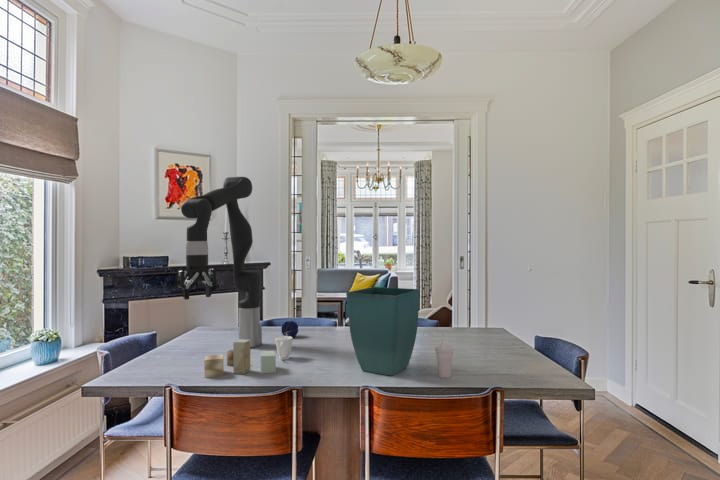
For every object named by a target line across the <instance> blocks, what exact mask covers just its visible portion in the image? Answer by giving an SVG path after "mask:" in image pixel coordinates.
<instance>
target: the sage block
mask: <svg viewBox="0 0 720 480" xmlns="http://www.w3.org/2000/svg"><path fill="white" fill-rule="evenodd" d="M259 354H260V355H259V359H260V360H259V363H260V374H267V373H269V374H270V373H271V374H272V373H277V372H276V371H277V370H276V369H277V367H276V365H277V364H276V363H277V361H276V359H277V357H276V353H275V350H267V351H265V350H264V351H260V352H259Z"/></svg>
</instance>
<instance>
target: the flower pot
mask: <svg viewBox="0 0 720 480" xmlns="http://www.w3.org/2000/svg"><path fill="white" fill-rule="evenodd" d="M345 294H346V303H347V313H348V314H347V315H348V325H349V333H350V337H351V338H350V339H351V342H352V343H351V344H352V346H353V350H354V353H355V356H356V359H357V362H358V364H359V367H360V369H361V371H362V372H368V373H374V374H378V375H386V376H394V375H396V374H398V373H400V372H401V371H402V370H404V369H406V368H407V367H408V366H409V363H410V360H411V358H412V354H413V350H414V347H415V343H416V339H417V333H418V327H419V312H420V311H419V308H420V294H421V290H420V289H417V288H405V287H404V288H401V287H385V286H384V287H383V286H373V287H372V286H371V287H367V288H362V289H357V290H352V291H347V292H345Z"/></svg>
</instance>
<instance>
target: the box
mask: <svg viewBox="0 0 720 480" xmlns="http://www.w3.org/2000/svg"><path fill="white" fill-rule="evenodd" d="M232 343H233V345H232V346H233V349H232V350H233V366H232V367H233V368H232V369H233V374H239V375H241V374H242V375H244V374H247V373H248V372H249V371H251V348H250V340H244V339H240V340H239V339H238V340H235V341H234V342H232Z"/></svg>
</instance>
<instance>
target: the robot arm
mask: <svg viewBox="0 0 720 480" xmlns="http://www.w3.org/2000/svg"><path fill="white" fill-rule="evenodd" d="M222 185H223V186H222V187H221V188H217V189H213V190H211V191H208V192H206V193H204V194H202V195H198V196H193V197H190V198H187V199H186V200H184V201H183V202H182V204H181V205H180V206H181V207H180V211H181V214H182V215H183V216H184V217H185V218H186V219H196V221H195V223H194V224H191V225H188V226H187V227H186V245H185V263H186V264H185V265H186V270H177V281H176V282H177V283H176V286H177V288H179V289H180V288H181V289H182V298H183V299H184V300H185V301H186V300H188V301H189V300H190V289H189V288H190V287H191V285H192V284H193V283H196V282H202V283H204V285H205V297H206V298H210V297H212V294H213V293H212V289H213V286H215V285H217V283H218V282H217V270H216V268H209V269H208V267H209V245H208V228H209V224H210V220H211V216H212V213H213V211H215V210H217V209H219V208H221V207H223V206H225V205H226V209H227V210H226V211H227V216H228V224H229V234H230V243H231V250H232V259H233V260H232V261H233V284H234V288H235V290H236V291H237V292H238V293H239V292H240V293H248V296H247V297H246V298H244V299H241V300H239V302H237V303H238V304H237V305H238V314H237V315H238V340H240V339H244V340H250V349H251V348H257V347H259V346H261V345H263V332H262V331H263V330H262V329H263V327H262V326H263V325H262V323H261V319H260V318H261V317H260V316H261V314H260V311H261V309H260V308H261V307H260V303H261V294H262V293H261V290H262V277H261V274H260V273H259V272H258V271H249V270H245V261H246V258H247V256H248V253H249V252H250V250H251V248H252V246H253V242H254V241H253V232H252V231H253V230H252V226H251V224H250V223H249V221H248V219H247V217H245V215H244V214H243V213H242V211H241V209H240V206H239V203H238V200H240V199H246V198H248V197H250V196H251V195H252V192H253V183H252V181H251V179H250V178H248V177H246V176H229V177H226V178H225V179H224V181H223V184H222ZM208 275H209V276H208ZM186 276H187V277H186ZM185 277H186V279H185Z"/></svg>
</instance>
